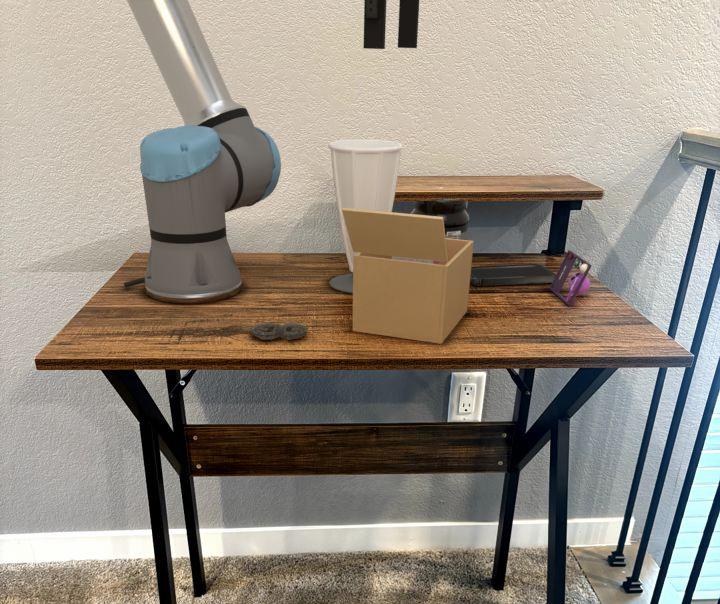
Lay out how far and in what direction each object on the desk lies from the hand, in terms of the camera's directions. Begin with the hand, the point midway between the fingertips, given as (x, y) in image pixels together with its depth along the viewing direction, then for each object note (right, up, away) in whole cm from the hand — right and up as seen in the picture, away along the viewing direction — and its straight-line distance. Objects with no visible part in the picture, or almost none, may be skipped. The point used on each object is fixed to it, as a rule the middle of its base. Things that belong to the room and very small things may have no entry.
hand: (391, 48), depth 101 cm
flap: (0, -29, -9) cm, 30 cm away
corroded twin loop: (-16, -40, 0) cm, 43 cm away
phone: (+21, -25, +26) cm, 42 cm away
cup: (-4, -27, +22) cm, 35 cm away
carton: (+3, -36, +6) cm, 37 cm away
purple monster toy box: (+30, -30, +17) cm, 46 cm away
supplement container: (+10, -20, +33) cm, 40 cm away
